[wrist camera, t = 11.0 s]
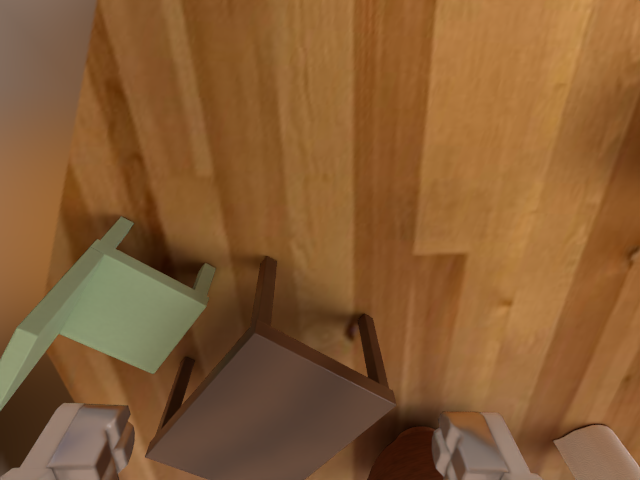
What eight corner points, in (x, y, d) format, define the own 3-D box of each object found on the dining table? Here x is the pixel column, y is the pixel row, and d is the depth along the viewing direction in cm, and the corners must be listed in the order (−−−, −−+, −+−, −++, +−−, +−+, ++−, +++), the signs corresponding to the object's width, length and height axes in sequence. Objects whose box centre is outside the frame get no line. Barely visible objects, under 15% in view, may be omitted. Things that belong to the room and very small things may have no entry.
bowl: (492, 458, 57) (527, 539, 48) (375, 489, 59) (388, 570, 51) (468, 380, 48) (505, 461, 40) (333, 420, 51) (340, 504, 42)
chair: (77, 287, 39) (-33, 422, 26) (120, 213, 35) (16, 327, 22) (171, 331, 42) (114, 470, 29) (219, 268, 38) (177, 395, 26)
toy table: (178, 362, 45) (144, 457, 35) (266, 252, 38) (254, 332, 29) (280, 408, 49) (275, 503, 40) (375, 317, 43) (396, 405, 33)
